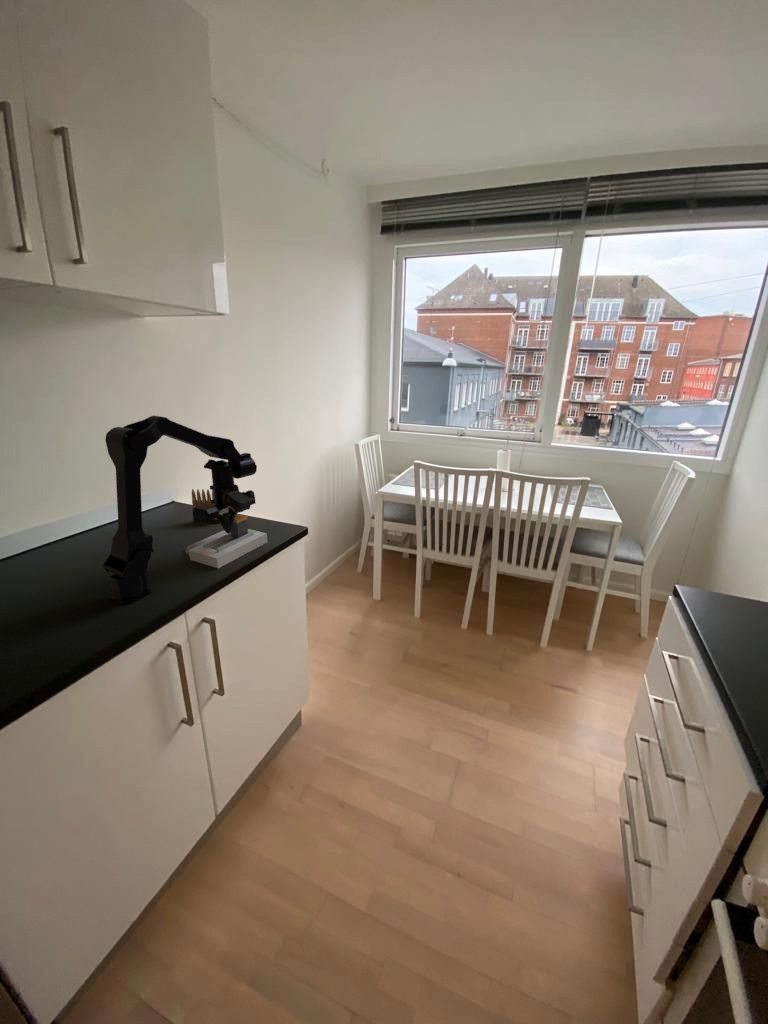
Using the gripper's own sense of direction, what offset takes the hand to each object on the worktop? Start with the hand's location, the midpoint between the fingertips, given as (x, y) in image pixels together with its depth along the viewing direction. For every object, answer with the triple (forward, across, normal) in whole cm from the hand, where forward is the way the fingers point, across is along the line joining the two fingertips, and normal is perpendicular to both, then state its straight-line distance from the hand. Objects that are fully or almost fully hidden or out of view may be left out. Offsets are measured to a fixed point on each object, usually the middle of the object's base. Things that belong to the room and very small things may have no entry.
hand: (228, 533), depth 124 cm
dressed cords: (+6, 0, +9) cm, 11 cm away
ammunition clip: (+6, +14, +24) cm, 28 cm away
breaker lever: (+2, +4, 0) cm, 5 cm away
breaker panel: (+6, 0, 0) cm, 6 cm away
